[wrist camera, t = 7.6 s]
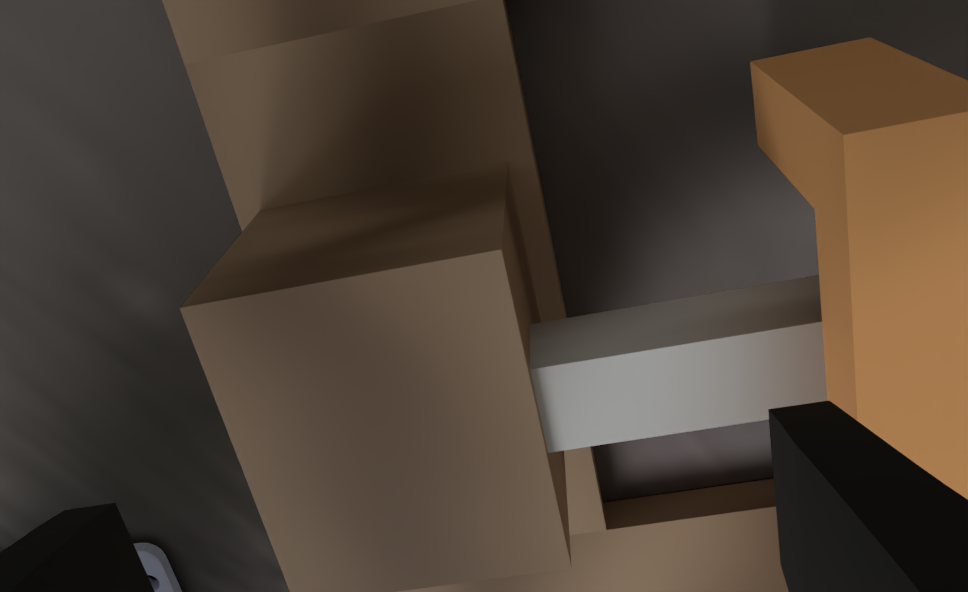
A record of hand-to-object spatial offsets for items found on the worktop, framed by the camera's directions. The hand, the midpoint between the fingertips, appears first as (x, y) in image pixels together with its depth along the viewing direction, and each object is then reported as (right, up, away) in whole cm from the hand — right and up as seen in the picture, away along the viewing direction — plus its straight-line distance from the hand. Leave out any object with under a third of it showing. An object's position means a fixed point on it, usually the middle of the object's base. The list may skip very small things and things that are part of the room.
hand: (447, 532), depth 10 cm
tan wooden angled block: (+7, +3, +7) cm, 10 cm away
